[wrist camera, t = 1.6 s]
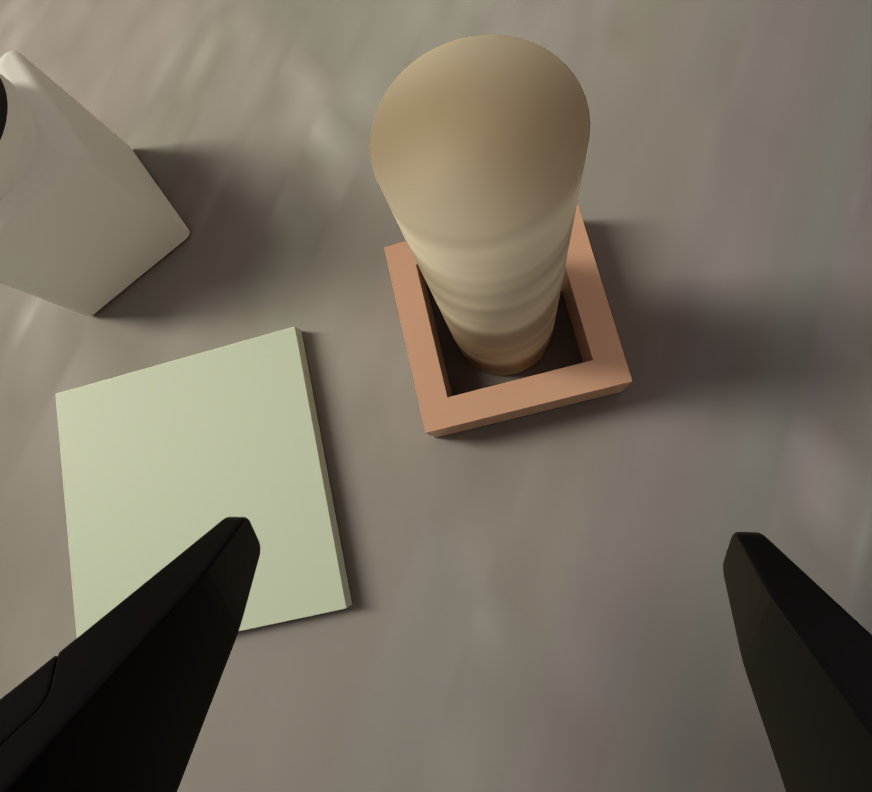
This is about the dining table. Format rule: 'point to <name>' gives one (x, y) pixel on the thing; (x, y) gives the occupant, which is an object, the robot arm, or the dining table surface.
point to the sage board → (202, 477)
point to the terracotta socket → (522, 396)
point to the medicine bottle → (72, 198)
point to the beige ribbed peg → (486, 187)
